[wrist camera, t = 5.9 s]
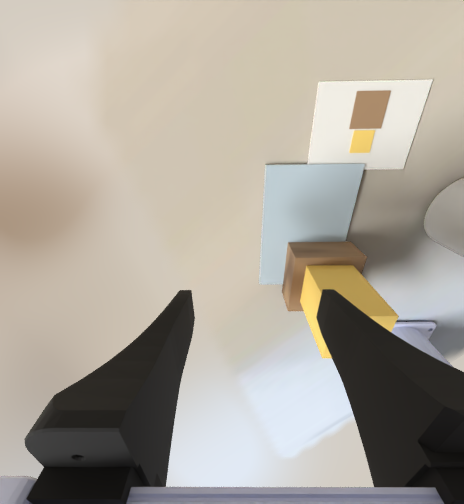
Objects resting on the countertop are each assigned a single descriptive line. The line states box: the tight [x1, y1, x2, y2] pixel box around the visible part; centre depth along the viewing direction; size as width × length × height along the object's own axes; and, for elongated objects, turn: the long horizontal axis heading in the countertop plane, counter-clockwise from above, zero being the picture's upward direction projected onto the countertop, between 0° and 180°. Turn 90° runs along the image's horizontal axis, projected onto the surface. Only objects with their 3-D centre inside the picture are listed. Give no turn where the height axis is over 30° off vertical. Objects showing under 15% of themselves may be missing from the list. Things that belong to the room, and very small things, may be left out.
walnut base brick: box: [282, 242, 367, 311], centre depth 21 cm, size 6×6×3 cm
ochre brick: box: [300, 265, 399, 358], centre depth 17 cm, size 4×4×6 cm
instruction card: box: [307, 80, 433, 170], centre depth 17 cm, size 6×8×1 cm
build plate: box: [259, 163, 365, 284], centre depth 21 cm, size 12×8×1 cm, turn 1°
